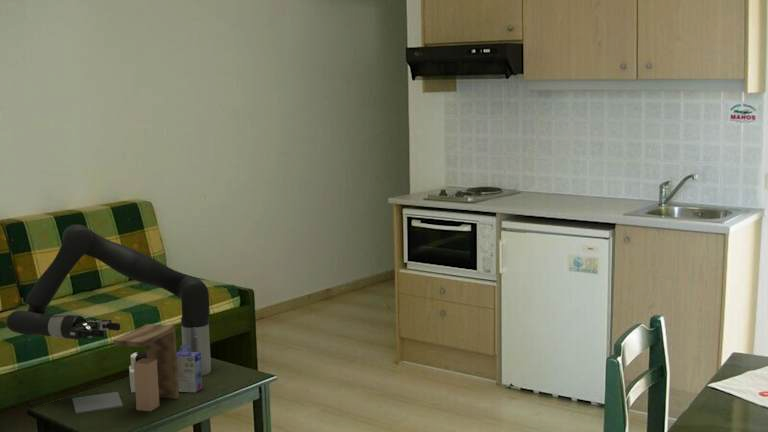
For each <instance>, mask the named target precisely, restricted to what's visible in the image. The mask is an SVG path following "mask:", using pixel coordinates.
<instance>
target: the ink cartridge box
mask: <svg viewBox="0 0 768 432" xmlns="http://www.w3.org/2000/svg"><path fill="white" fill-rule="evenodd" d="M190 347H191V346H183V345H180V347H179V351H176V352H177V370H178V389H179V393H182V392H183V393H197V392H199V391H200V390H202V389H203V376H202V370H201V352H190ZM183 348H188V350H183Z"/></svg>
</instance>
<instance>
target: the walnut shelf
mask: <svg viewBox="0 0 768 432" xmlns="http://www.w3.org/2000/svg"><path fill="white" fill-rule="evenodd" d="M112 341H113V342H112V343H113V344H112V345H113V346H120V347H121V346H123V347H135V348H144V347H145V352H146V355H147V359H157V372H158V389H159V398H165V399H175V400H176V399H179V398H180V392H179V389H178V370H177V352H178V351H177V336H176V325H169V324H168V325H167V324H151V323H147V324H144V325H142V326H140V327H138V328H136V329H133V330H131V331H130V332H127V333H126V334H124V335H121V336H118V337H117V338H115V339H113V340H112Z"/></svg>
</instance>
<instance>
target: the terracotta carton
mask: <svg viewBox="0 0 768 432" xmlns="http://www.w3.org/2000/svg"><path fill="white" fill-rule="evenodd" d="M134 376H135V392H134V393H135V404H136V405H135V406H136V407H135V408H136V411H142V412H143V411H144V412H152V411H154V410H155V409H157V408H158V407H160V397H159V389H158V372H157V359H147V358H142V359H140V360H138V361H136V362H135V363H134Z"/></svg>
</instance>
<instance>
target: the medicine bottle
mask: <svg viewBox="0 0 768 432" xmlns="http://www.w3.org/2000/svg"><path fill="white" fill-rule="evenodd" d="M142 358H147V355H146V351H136V352H134V353H132V354H130V365H128V371H129V373H128V374H129V386H130V392H131V393H136V392H135V376H134V363H135V362H136V361H138V360H140V359H142Z"/></svg>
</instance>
